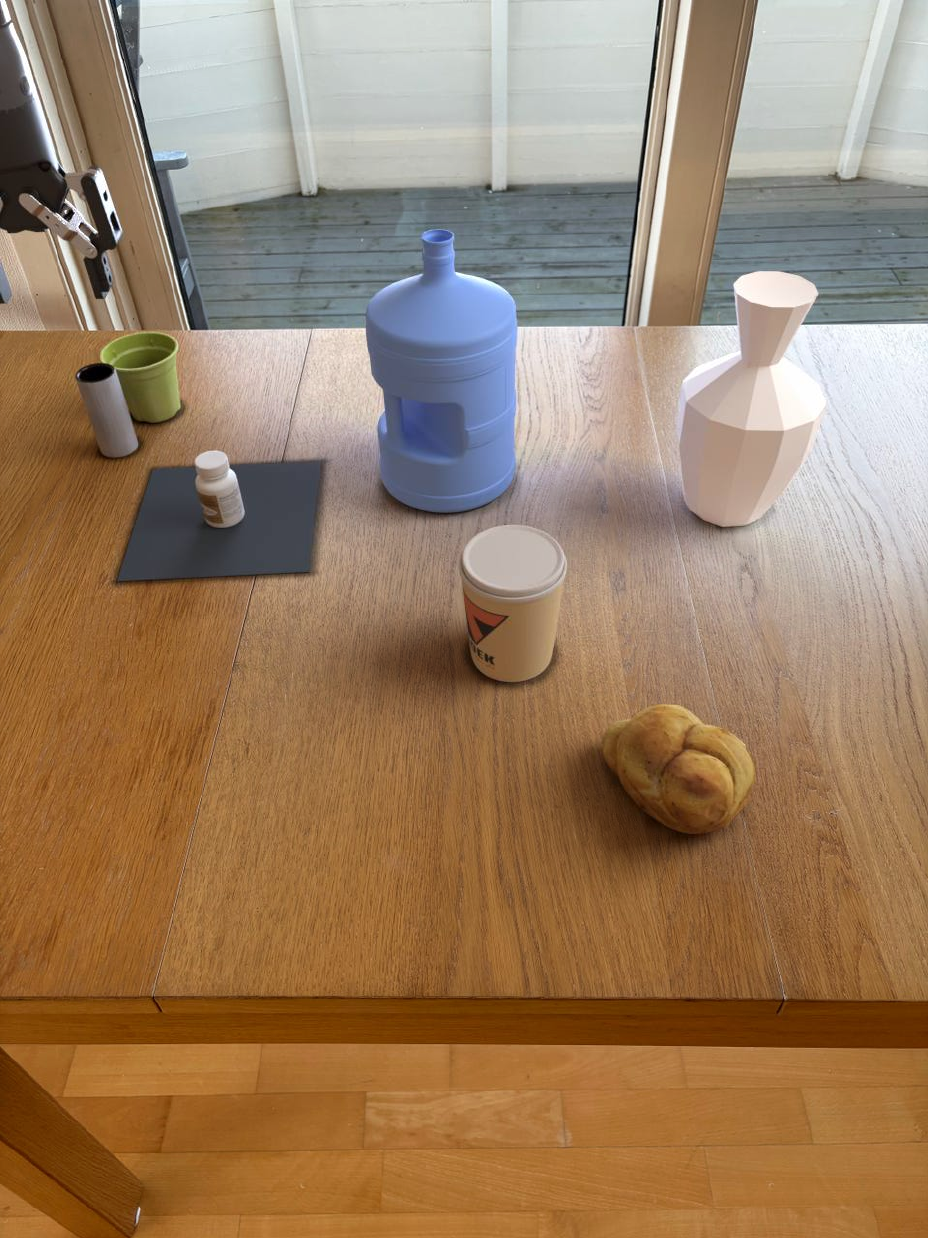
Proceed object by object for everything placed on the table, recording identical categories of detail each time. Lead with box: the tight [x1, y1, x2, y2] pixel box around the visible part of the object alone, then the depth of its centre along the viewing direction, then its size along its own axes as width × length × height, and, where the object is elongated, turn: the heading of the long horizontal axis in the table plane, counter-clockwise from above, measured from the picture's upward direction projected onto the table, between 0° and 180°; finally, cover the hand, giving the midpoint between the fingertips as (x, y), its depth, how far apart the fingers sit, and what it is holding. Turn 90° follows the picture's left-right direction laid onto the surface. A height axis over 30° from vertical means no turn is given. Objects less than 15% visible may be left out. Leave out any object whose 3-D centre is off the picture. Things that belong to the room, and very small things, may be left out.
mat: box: [116, 460, 322, 583], centre depth 106 cm, size 20×20×1 cm
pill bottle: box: [194, 450, 245, 528], centre depth 103 cm, size 4×4×8 cm
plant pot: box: [98, 331, 182, 424], centre depth 119 cm, size 9×9×9 cm
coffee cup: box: [458, 524, 568, 683], centre depth 86 cm, size 9×9×12 cm
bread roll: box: [601, 703, 756, 835], centre depth 76 cm, size 13×10×8 cm
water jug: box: [365, 228, 518, 514], centre depth 101 cm, size 16×16×28 cm
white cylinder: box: [74, 362, 139, 459], centre depth 113 cm, size 4×4×10 cm
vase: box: [675, 270, 828, 528], centre depth 97 cm, size 14×14×25 cm
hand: (53, 297), depth 83 cm, fingers open, 8 cm apart
